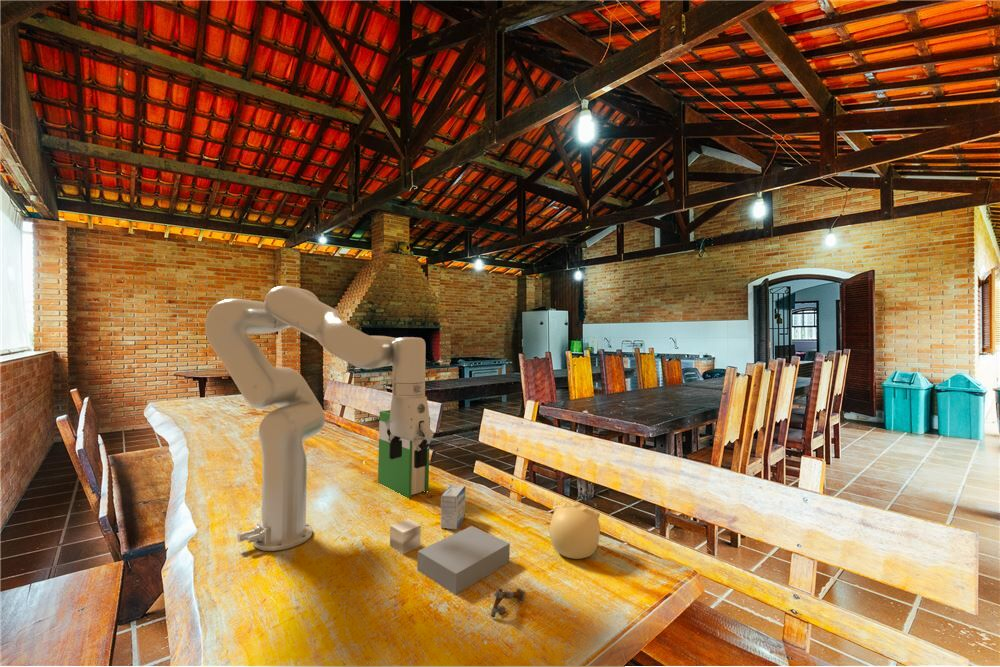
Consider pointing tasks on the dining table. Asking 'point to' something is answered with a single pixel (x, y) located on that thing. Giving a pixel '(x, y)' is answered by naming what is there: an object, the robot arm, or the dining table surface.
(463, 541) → the stand
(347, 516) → the dining table surface
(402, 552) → the wooden cube
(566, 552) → the sculpture
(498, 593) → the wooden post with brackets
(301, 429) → the robot arm
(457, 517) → the medicine box
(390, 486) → the hardback book
